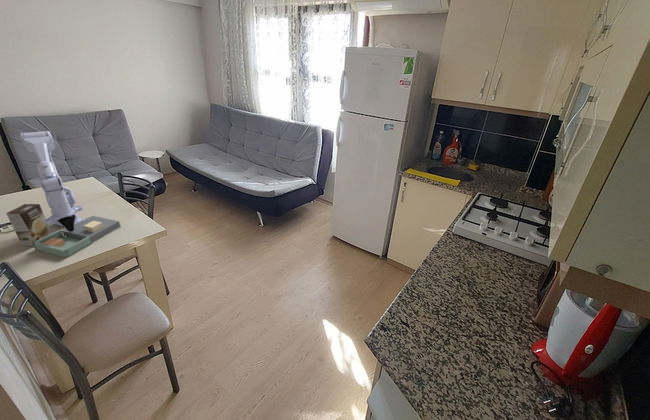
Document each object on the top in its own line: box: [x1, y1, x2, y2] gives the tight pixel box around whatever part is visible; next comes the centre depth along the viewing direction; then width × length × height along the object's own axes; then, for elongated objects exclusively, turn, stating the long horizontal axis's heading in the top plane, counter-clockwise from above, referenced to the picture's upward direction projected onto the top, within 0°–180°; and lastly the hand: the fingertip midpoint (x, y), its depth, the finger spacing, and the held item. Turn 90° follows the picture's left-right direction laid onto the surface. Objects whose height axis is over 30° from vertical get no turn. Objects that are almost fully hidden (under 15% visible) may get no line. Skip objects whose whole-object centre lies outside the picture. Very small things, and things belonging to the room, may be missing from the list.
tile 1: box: [44, 238, 65, 247], centre depth 126 cm, size 5×5×2 cm
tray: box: [33, 229, 93, 259], centre depth 127 cm, size 17×11×4 cm, turn 76°
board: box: [61, 215, 121, 244], centre depth 139 cm, size 16×15×3 cm
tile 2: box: [83, 221, 103, 232], centre depth 135 cm, size 5×5×2 cm
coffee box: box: [6, 203, 53, 247], centre depth 127 cm, size 9×6×16 cm
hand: (70, 230), depth 132 cm, fingers closed
